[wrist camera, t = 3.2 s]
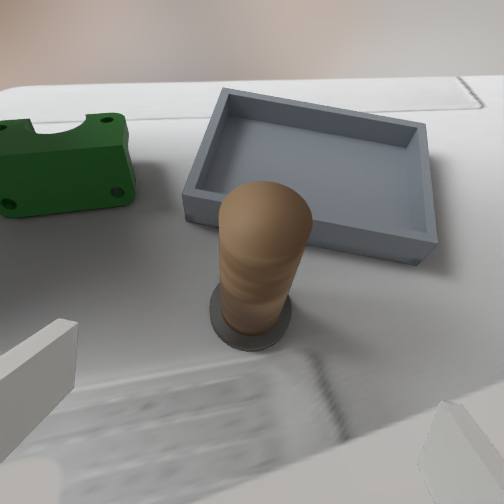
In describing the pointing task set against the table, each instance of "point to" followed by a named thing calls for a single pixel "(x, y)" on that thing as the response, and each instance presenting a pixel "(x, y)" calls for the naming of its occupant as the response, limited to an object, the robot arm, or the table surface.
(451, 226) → the table surface
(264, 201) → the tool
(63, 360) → the robot arm
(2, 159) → the clamp
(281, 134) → the tray
